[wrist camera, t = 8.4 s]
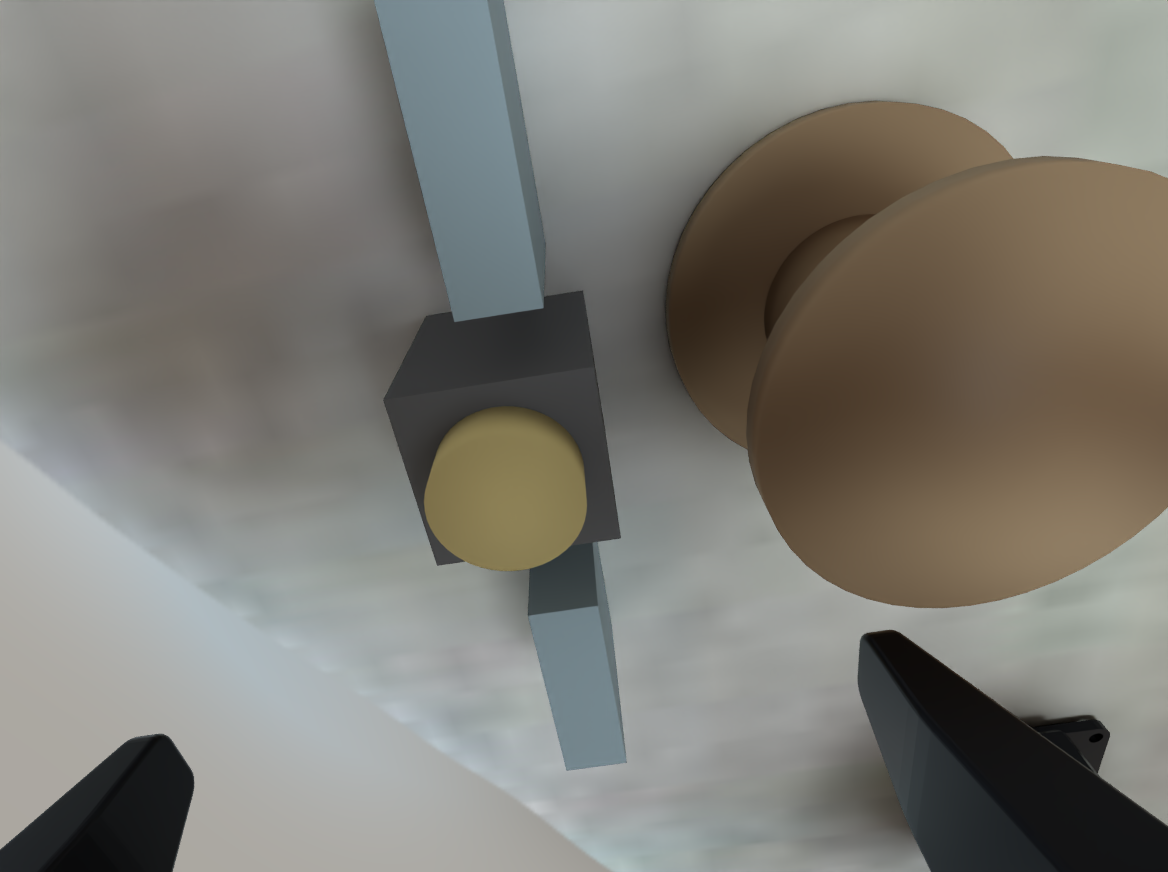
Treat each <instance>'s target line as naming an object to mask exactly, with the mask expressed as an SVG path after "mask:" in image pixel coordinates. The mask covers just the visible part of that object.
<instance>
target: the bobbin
mask: <svg viewBox="0 0 1168 872" xmlns="http://www.w3.org/2000/svg"><path fill="white" fill-rule="evenodd" d="M666 327H667V333H668V339H669V345H670V349H671V352H672V355H673V358H674V361H675V364H676V367H677V369H678V372H679V374H680V377H681V379H682V381H683V383H684V385H685V387H686V389H687V391H688V393H689V395H690V397H691V398H692V400H693V401H694V403H695V404H696V406H697V407H698V409H699V410H700V412H701V413H702V414H703V415H704V416H705V417H706V418H707V419H708V420H709V421H710V423H711V424H712V425H713V426H714V427H715V428H717V429H718V430H719V431H720V432H722V433H723V434H724V435H725V436H726V437H728V438H729V439H730V440H732V441H734V442H735V443H737V444H739V445H740V446H742V447H744V448H746V449H747V450H748V456H749V463H750V466H751V470H752V473H753V477H754V480H755V484H756V486H757V488H758V490H759V493H760V495H761V497H762V499H763V501H764V503H765V505H766V507H767V509H768V511H769V514H770V516H771V518H772V520H773V522H774V524H775V526H776V528H777V530H778V531H779V533H780V534H781V536H782V537H783V539H784V540H785V542H786V543H787V544H788V546H789V547H790V549H791V550H792V551H793V552H794V553H795V554H796V555H797V556H798V557H799V558H800V559H801V560H802V561H803V562H804V563H805V564H806V565H807V566H808V567H809V568H810V569H812V570H813V571H814V572H816V573H817V574H818V575H820V576H821V577H822V578H824V579H825V580H827V581H829V582H831V583H832V584H834V585H836V586H838V587H840V588H842V589H843V590H845V591H848V592H850V593H853V594H856V595H858V596H861V597H864V598H866V599H870V600H874V601H878V602H882V603H887V604H891V605H898V606H906V607H915V608H949V607H960V606H971V605H976V604H982V603H987V602H992V601H998V600H1002V599H1005V598H1009V597H1012V596H1016V595H1019V594H1023V593H1027V592H1029V591H1032V590H1035V589H1037V588H1040V587H1042V586H1045V585H1048V584H1050V583H1053V582H1056V581H1058V580H1060V579H1062V578H1064V577H1066V576H1068V575H1070V574H1072V573H1075V572H1077V571H1079V570H1081V569H1083V568H1085V567H1086V566H1088V565H1090V564H1091V563H1093V562H1095V561H1097V560H1098V559H1100V558H1102V557H1104V556H1105V555H1107V554H1109V553H1110V552H1112V551H1113V550H1115V549H1116V548H1117V547H1119V546H1120V545H1122V544H1123V543H1125V542H1126V541H1128V540H1129V539H1130V538H1132V537H1133V536H1135V535H1136V534H1137V533H1138V532H1140V531H1141V530H1142V529H1143V528H1144V527H1146V526H1147V525H1148V524H1149V523H1151V522H1152V521H1153V520H1154V519H1155V518H1157V517H1158V516H1159V515H1160V514H1161V513H1162V512H1163V511H1164V510H1165V509H1166V508H1167V507H1168V178H1166V177H1163V176H1161V175H1158V174H1156V173H1153V172H1150V171H1146V170H1141V169H1136V168H1131V167H1126V166H1122V165H1117V164H1111V163H1105V162H1099V161H1093V160H1087V159H1081V158H1071V157H1051V156H1040V157H1029V158H1018V159H1013V158H1012V156H1011V155H1010V154H1009V153H1008V151H1007V150H1006V149H1005V148H1004V146H1002V145H1001V144H1000V143H999V142H998V141H997V140H996V139H994V138H993V137H992V136H991V135H990V134H989V133H988V132H986V131H985V130H983V129H982V128H980V127H978V126H977V125H975V124H973V123H972V122H970V121H969V120H967V119H965V118H963V117H960V116H958V115H955V114H953V113H950V112H947V111H945V110H942V109H938V108H933V107H929V106H924V105H919V104H912V103H902V102H885V101H868V102H857V103H847V104H843V105H839V106H835V107H830V108H826V109H822V110H819V111H817V112H814V113H811V114H809V115H806V116H803V117H801V118H798V119H796V120H794V121H792V122H790V123H788V124H786V125H784V126H783V127H781V128H779V129H777V130H775V131H773V132H771V133H770V134H769V135H767V136H766V137H764V138H763V139H761V140H760V141H759V142H757V143H756V144H754V145H753V146H751V147H750V148H749V149H747V150H746V151H745V152H744V153H743V154H742V155H741V156H740V157H739V158H737V159H736V160H735V161H734V162H733V163H732V164H731V165H730V166H729V167H728V168H727V169H726V170H725V171H724V172H723V173H722V174H721V176H720V177H719V178H718V179H717V180H716V181H715V182H714V184H713V185H712V186H711V187H710V188H709V190H708V191H707V193H706V194H705V195H704V197H703V198H702V200H701V201H700V203H699V204H698V206H697V207H696V209H695V210H694V212H693V214H692V216H691V218H690V220H689V222H688V223H687V225H686V227H685V229H684V231H683V233H682V236H681V238H680V241H679V244H678V246H677V249H676V252H675V254H674V257H673V261H672V265H671V270H670V274H669V278H668V285H667V294H666Z"/></svg>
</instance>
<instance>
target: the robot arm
mask: <svg viewBox="0 0 1168 872" xmlns="http://www.w3.org/2000/svg"><path fill="white" fill-rule="evenodd" d="M858 687H859V692H860V696H861V699H862V702H863V704H864V707H865V710H866V712H867V715H868V718H869V721H870V723H871V726H872V729H873V732H874V734H875V737H876V740H877V743H878V745H879V748H880V751H881V753H882V756H883V759H884V762H885V764H886V767H887V770H888V773H889V775H890V778H891V781H892V784H893V786H894V789H895V792H896V794H897V797H898V800H899V802H900V805H901V808H902V810H903V813H904V815H905V818H906V820H907V822H908V825H909V827H910V829H911V831H912V833H913V836H914V838H915V840H916V842H917V844H918V846H919V848H920V850H921V852H922V854H923V856H924V858H925V860H926V862H927V864H928V867H929V869H930V871H931V872H1168V826H1167V825H1166V824H1164V823H1163V822H1162V821H1160V820H1159V819H1157V818H1156V817H1155V816H1153V815H1152V814H1150V813H1149V812H1148V811H1146V810H1145V809H1144V808H1142V807H1141V806H1139V805H1138V804H1137V803H1135V802H1134V801H1132V800H1131V799H1130V798H1128V797H1127V796H1126V795H1124V794H1123V793H1121V792H1120V791H1119V790H1117V789H1116V788H1114V787H1113V786H1112V785H1110V784H1109V783H1108V782H1106V781H1105V780H1103V779H1102V778H1101V777H1100V776H1099V775H1098V774H1097V773H1098V770H1099V767H1100V764H1101V761H1102V758H1103V755H1104V752H1105V749H1106V746H1107V743H1108V740H1109V737H1110V732H1109V731H1108V730H1107V729H1106V728H1105V726H1104V725H1103V724H1102V723H1101V722H1100V721H1098V720H1086V721H1079V722H1071V723H1064V724H1056V725H1049V726H1042V727H1034V728H1031V727H1030V726H1029V725H1027V724H1026V723H1024V722H1023V721H1022V720H1020V719H1019V718H1017V717H1016V716H1015V715H1013V714H1012V713H1011V712H1009V711H1008V710H1006V709H1005V708H1004V707H1002V706H1001V705H999V704H998V703H997V702H995V701H994V700H993V699H991V698H990V697H988V696H987V695H986V694H984V693H983V692H981V691H980V690H979V689H977V688H976V687H975V686H973V685H972V684H970V683H969V682H968V681H966V680H965V679H963V678H962V677H961V676H959V675H958V674H957V673H955V672H954V671H952V670H951V669H950V668H948V667H947V666H945V665H944V664H943V663H941V662H940V661H939V660H937V659H936V658H934V657H933V656H932V655H930V654H929V653H927V652H926V651H925V650H923V649H922V648H921V647H919V646H918V645H916V644H915V643H914V642H912V641H911V640H909V639H908V638H907V637H905V636H904V635H902V634H901V633H899V632H897V631H895V630H885V631H878V632H871V633H866V634H864V635H863V636H862V637H861V640H860V648H859V664H858ZM193 791H194V776H193V772H192V770H191V769H190V767H189V766H188V764H187V763H186V761H185V759H184V758H183V756H182V755H181V753H180V752H179V750H178V749H177V747H176V746H175V744H174V743H173V741H172V740H171V739H170V738H169V737H168V736H166V735H164V734H154V735H147V736H140V737H135V738H132V739H130V740H128V741H127V742H125V743H124V744H123V745H122V746H120V747H119V748H118V749H117V750H116V751H115V752H114V753H112V754H111V755H110V756H109V757H108V758H106V759H105V760H104V761H103V762H102V763H101V764H99V765H98V766H97V767H96V768H95V769H94V770H93V771H91V772H90V773H89V774H88V775H87V776H86V777H84V778H83V779H82V780H81V781H80V782H78V783H77V784H76V785H75V786H74V787H73V788H71V790H69V791H68V792H67V793H66V794H64V795H63V796H62V797H61V798H60V799H59V800H58V801H56V802H55V803H54V804H53V805H52V806H51V807H49V808H48V809H47V810H46V811H45V812H44V813H42V814H41V815H40V816H39V817H38V818H37V819H35V820H34V821H33V822H32V823H31V824H30V825H28V826H27V827H26V828H25V829H24V830H23V831H22V832H20V833H19V834H18V835H17V836H16V837H15V838H13V839H12V840H11V841H10V842H9V843H8V844H6V845H5V846H4V847H3V848H2V849H0V872H173V868H174V864H175V860H176V857H177V853H178V849H179V845H180V841H181V838H182V834H183V830H184V826H185V822H186V819H187V815H188V811H189V807H190V803H191V800H192V796H193Z"/></svg>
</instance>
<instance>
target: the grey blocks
mask: <svg viewBox="0 0 1168 872" xmlns="http://www.w3.org/2000/svg"><path fill="white" fill-rule="evenodd" d="M374 2H375V6H376V10H377V14H378V18H379V22H380V26H381V30H382V34H383V38H384V42H385V46H386V50H387V54H388V58H389V62H390V66H391V70H392V74H393V78H394V82H395V86H396V90H397V94H398V98H399V102H400V106H401V110H402V114H403V118H404V122H405V126H406V130H407V134H408V138H409V142H410V146H411V150H412V154H413V158H414V162H415V166H416V170H417V174H418V178H419V182H420V186H421V190H422V194H423V198H424V202H425V206H426V210H427V214H428V218H429V222H430V226H431V230H432V234H433V238H434V242H435V246H436V250H437V254H438V258H439V262H440V266H441V270H442V274H443V278H444V282H445V286H446V290H447V294H448V298H449V302H450V306H451V310H452V314H453V318H454V322H458V321H465V320H471V319H477V318H484V317H490V316H496V315H503V314H509V313H515V312H522V311H528V310H534V309H541V308H544V279H545V248H546V243H545V238H544V232H543V226H542V220H541V215H540V209H539V203H538V197H537V191H536V186H535V180H534V174H533V168H532V163H531V157H530V151H529V145H528V139H527V134H526V128H525V122H524V116H523V111H522V105H521V99H520V93H519V88H518V82H517V76H516V70H515V64H514V59H513V53H512V47H511V41H510V36H509V30H508V24H507V18H506V12H505V7H504V1H503V0H374ZM528 618H529V622H530V626H531V630H532V634H533V638H534V642H535V646H536V650H537V654H538V658H539V662H540V666H541V670H542V674H543V678H544V682H545V686H546V690H547V694H548V698H549V702H550V706H551V710H552V714H553V718H554V722H555V726H556V730H557V734H558V738H559V742H560V746H561V750H562V754H563V758H564V762H565V766H566V770H567V771H568V770H575V769H583V768H590V767H598V766H605V765H612V764H620V763H627V761H626V752H625V743H624V734H623V724H622V715H621V706H620V697H619V688H618V678H617V669H616V660H615V651H614V642H613V632H612V624H611V619H610V613H609V607H608V601H607V595H606V590H605V584H604V578H603V572H602V567H601V561H600V555H599V549H598V543H597V542H592V543H586V544H579V545H572V546H570V547H569V548H568V549H567V550H566V551H564V552H563V553H562V554H560V555H559V556H558V557H556V558H554V559H553V560H551V561H549V562H547V563H545V564H542V565H540V566H537V567H533V568H530V578H529V602H528Z"/></svg>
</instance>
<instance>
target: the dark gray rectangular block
mask: <svg viewBox="0 0 1168 872" xmlns="http://www.w3.org/2000/svg"><path fill="white" fill-rule="evenodd" d="M383 401H384V404H385V407H386V410H387V413H388V416H389V419H390V422H391V425H392V428H393V431H394V434H395V437H396V440H397V443H398V447H399V450H400V453H401V456H402V459H403V462H404V465H405V468H406V471H407V474H408V477H409V480H410V483H411V486H412V489H413V493H414V496H415V499H416V502H417V505H418V508H419V511H420V514H421V517H422V520H423V523H424V526H425V529H426V532H427V535H428V539H429V542H430V545H431V548H432V551H433V554H434V557H435V560H436V563H437V566H438V565H445V564H452V563H458V562H465V561H466V562H468V563H470V564H472V565H475V566H478V567H481V568H486V569H490V570H498V571H517V570H525V569H530V568H533V567H537V566H540V565H542V564H545V563H547V562H549V561H551V560H553V559H554V558H556V557H558V556H559V555H560V554H562V553H563V552H564V551H566V550H567V549H568V548H569V547H570V546H572V545H579V544H586V543H592V542H599V541H606V540H612V539H619V538H621V536H620V529H619V523H618V516H617V509H616V502H615V495H614V488H613V482H612V475H611V468H610V461H609V454H608V447H607V441H606V434H605V427H604V421H603V414H602V408H601V402H600V395H599V389H598V383H597V376H596V370H595V364H594V357H593V351H592V345H591V338H590V332H589V326H588V319H587V313H586V307H585V300H584V294H583V291H576V292H570V293H564V294H558V295H552V296H546V297H544V308H541V309H534V310H528V311H522V312H515V313H509V314H503V315H496V316H490V317H484V318H477V319H471V320H465V321H458V322H454V318H453V314H452V312H448V313H442V314H436V315H429V316H426V318H425V320H424V322H423V323H422V325H421V327H420V329H419V331H418V333H417V335H416V337H415V339H414V341H413V343H412V345H411V347H410V349H409V351H408V353H407V355H406V357H405V359H404V361H403V363H402V365H401V367H400V369H399V370H398V372H397V374H396V376H395V378H394V380H393V382H392V384H391V386H390V388H389V390H388V392H387V394H386V396H385V398H384V400H383Z"/></svg>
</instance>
